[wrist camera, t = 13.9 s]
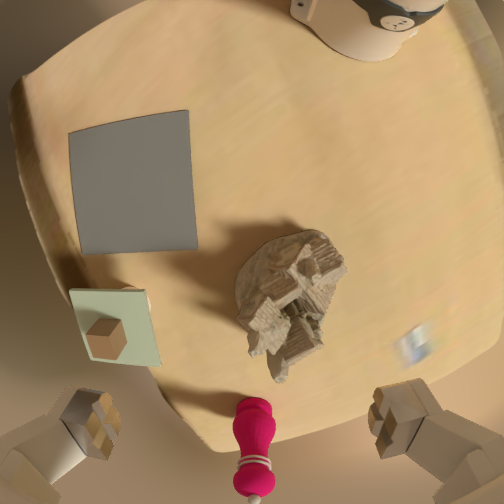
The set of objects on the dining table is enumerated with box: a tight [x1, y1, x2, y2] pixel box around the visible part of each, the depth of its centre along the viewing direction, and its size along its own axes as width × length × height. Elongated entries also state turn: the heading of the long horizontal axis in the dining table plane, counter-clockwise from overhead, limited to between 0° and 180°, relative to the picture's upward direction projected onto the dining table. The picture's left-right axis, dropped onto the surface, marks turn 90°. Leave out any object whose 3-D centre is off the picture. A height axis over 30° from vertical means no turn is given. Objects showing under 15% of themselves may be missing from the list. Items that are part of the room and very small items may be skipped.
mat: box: [69, 110, 198, 255], centre depth 36 cm, size 18×18×1 cm
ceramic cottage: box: [235, 230, 347, 383], centre depth 34 cm, size 16×16×15 cm
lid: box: [69, 288, 162, 367], centre depth 32 cm, size 11×11×5 cm
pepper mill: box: [233, 398, 276, 504], centre depth 38 cm, size 7×7×20 cm
